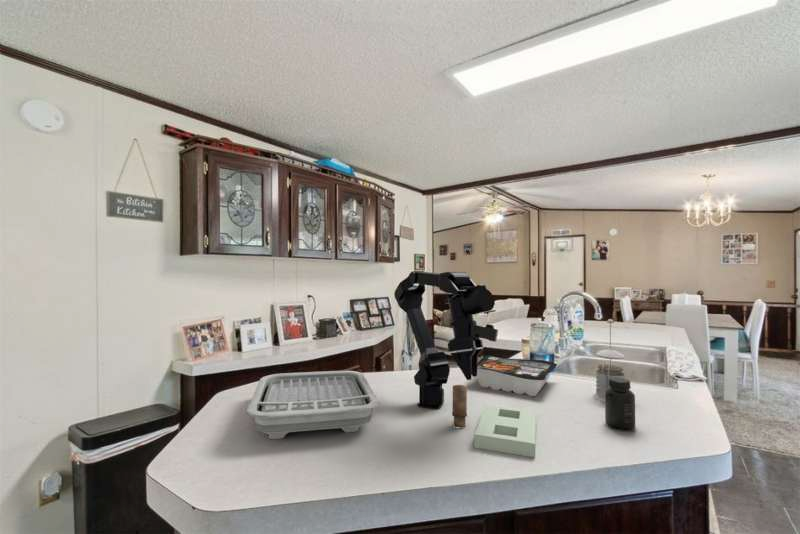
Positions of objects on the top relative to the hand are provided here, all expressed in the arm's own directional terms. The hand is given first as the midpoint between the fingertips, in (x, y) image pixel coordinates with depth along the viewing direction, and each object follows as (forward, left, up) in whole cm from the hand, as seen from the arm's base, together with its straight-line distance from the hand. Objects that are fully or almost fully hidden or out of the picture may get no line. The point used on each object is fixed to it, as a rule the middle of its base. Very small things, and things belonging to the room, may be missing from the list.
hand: (472, 378), depth 97 cm
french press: (+37, +37, -13) cm, 53 cm away
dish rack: (-42, -8, -13) cm, 45 cm away
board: (+9, -1, -12) cm, 15 cm away
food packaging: (+8, +41, -13) cm, 44 cm away
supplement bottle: (+36, +15, -13) cm, 41 cm away
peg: (-3, 0, -12) cm, 13 cm away
